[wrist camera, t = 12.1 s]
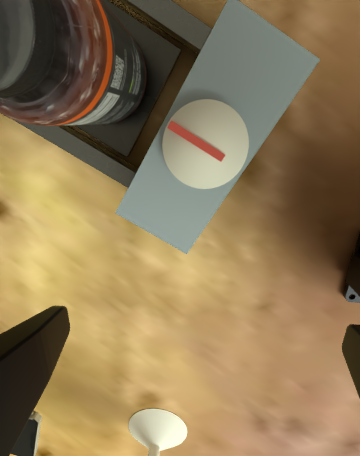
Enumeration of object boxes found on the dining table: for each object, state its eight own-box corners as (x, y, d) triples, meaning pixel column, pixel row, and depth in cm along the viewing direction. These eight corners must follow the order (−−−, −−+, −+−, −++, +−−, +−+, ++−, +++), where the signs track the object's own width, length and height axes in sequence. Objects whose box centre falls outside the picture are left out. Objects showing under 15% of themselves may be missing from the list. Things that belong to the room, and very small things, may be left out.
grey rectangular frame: (210, 36, 17) (211, 25, 15) (132, 183, 21) (125, 189, 19) (-95, -176, 15) (-139, -220, 13) (-120, 32, 18) (-157, 22, 16)
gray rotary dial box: (288, 77, 17) (327, 55, 12) (190, 225, 21) (186, 260, 16) (223, 30, 17) (232, -14, 11) (135, 193, 21) (110, 217, 15)
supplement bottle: (45, 38, 17) (-204, -97, 7) (133, 7, 16) (3, -207, 6) (79, 134, 19) (-72, 146, 9) (159, 112, 18) (98, 95, 8)
